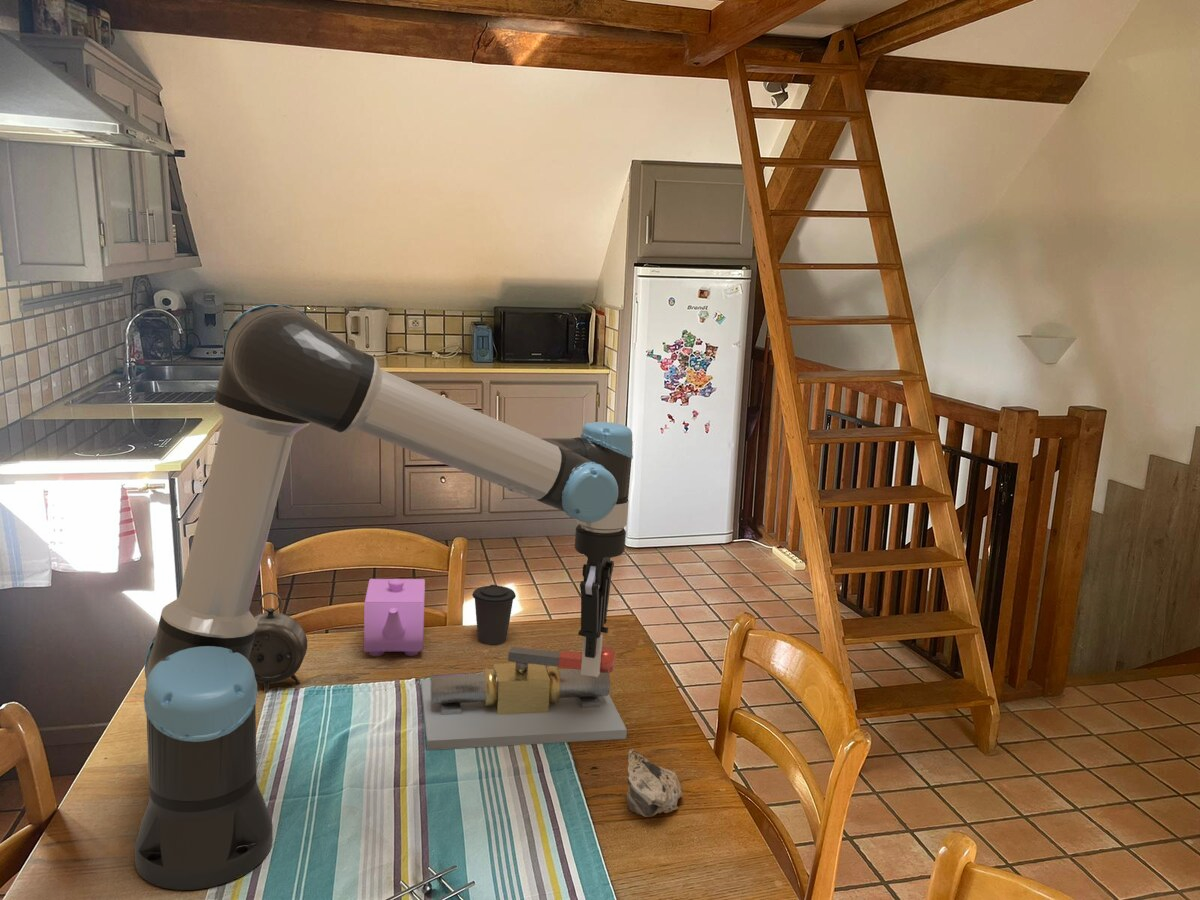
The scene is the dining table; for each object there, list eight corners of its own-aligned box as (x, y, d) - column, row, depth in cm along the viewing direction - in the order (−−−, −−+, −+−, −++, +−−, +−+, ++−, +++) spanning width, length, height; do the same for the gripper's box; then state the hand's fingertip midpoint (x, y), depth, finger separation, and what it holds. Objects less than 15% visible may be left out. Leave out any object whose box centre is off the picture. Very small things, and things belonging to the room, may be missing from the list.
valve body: (610, 708, 152) (612, 673, 151) (431, 717, 145) (432, 681, 144) (601, 690, 158) (603, 656, 157) (429, 698, 152) (430, 663, 150)
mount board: (626, 738, 146) (626, 729, 146) (427, 750, 139) (427, 740, 139) (597, 680, 165) (597, 672, 165) (420, 688, 158) (421, 679, 158)
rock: (624, 766, 136) (607, 752, 127) (672, 749, 135) (658, 735, 126) (641, 829, 131) (624, 819, 122) (691, 813, 130) (678, 802, 122)
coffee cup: (497, 627, 185) (500, 578, 183) (522, 642, 179) (524, 591, 177) (462, 636, 180) (463, 586, 178) (486, 651, 174) (488, 599, 172)
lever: (507, 673, 149) (508, 644, 148) (511, 665, 152) (512, 636, 151) (611, 684, 148) (613, 655, 147) (613, 676, 151) (615, 647, 150)
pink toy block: (369, 627, 181) (370, 564, 179) (423, 627, 183) (425, 565, 180) (361, 674, 162) (362, 604, 159) (421, 673, 164) (423, 604, 161)
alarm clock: (307, 679, 159) (308, 587, 155) (301, 694, 153) (301, 599, 150) (239, 678, 157) (238, 585, 154) (230, 693, 152) (229, 597, 149)
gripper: (586, 513, 150) (576, 654, 154) (566, 534, 137) (556, 687, 142) (633, 519, 148) (622, 661, 153) (617, 540, 136) (605, 695, 140)
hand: (590, 673), depth 147 cm, fingers closed
